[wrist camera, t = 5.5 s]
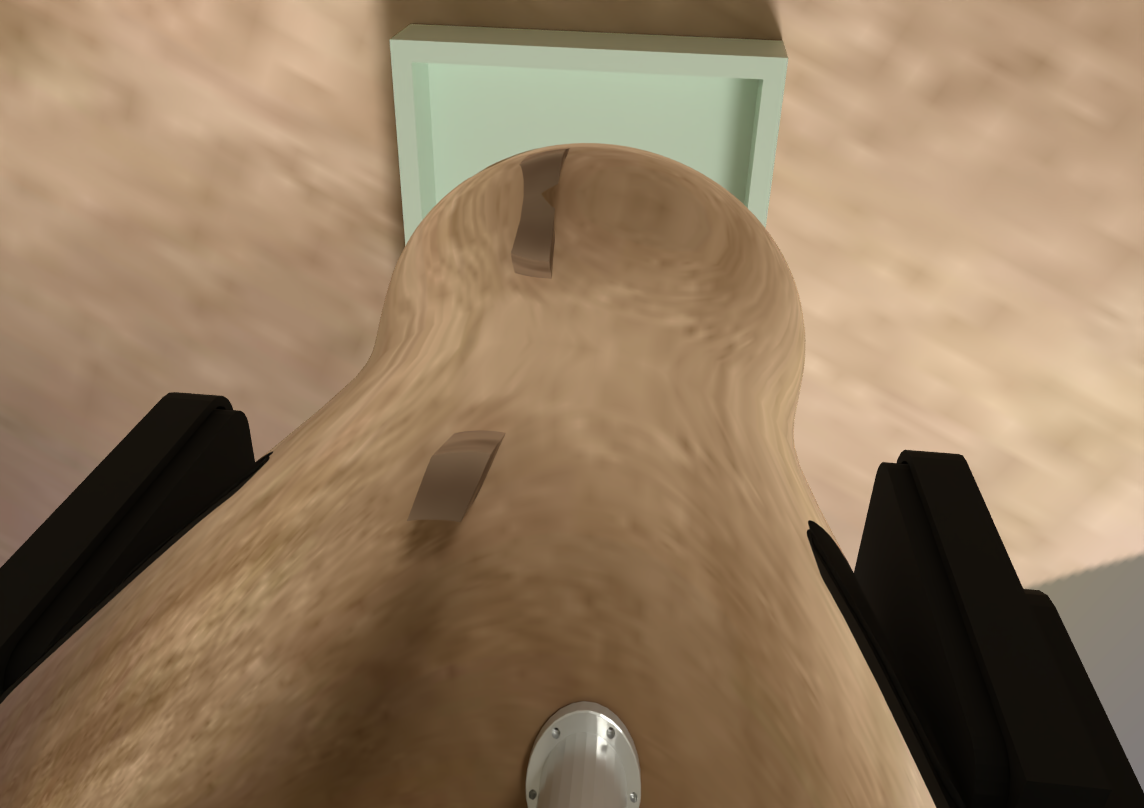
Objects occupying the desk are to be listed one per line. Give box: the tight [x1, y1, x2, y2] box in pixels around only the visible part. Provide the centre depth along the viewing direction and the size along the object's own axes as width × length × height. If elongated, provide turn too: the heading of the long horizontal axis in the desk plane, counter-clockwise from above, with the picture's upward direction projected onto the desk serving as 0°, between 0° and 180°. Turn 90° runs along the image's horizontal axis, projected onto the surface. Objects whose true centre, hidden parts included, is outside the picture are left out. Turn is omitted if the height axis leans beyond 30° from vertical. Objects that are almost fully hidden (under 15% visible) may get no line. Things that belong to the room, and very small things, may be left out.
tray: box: [390, 24, 788, 246], centre depth 31 cm, size 13×11×2 cm
